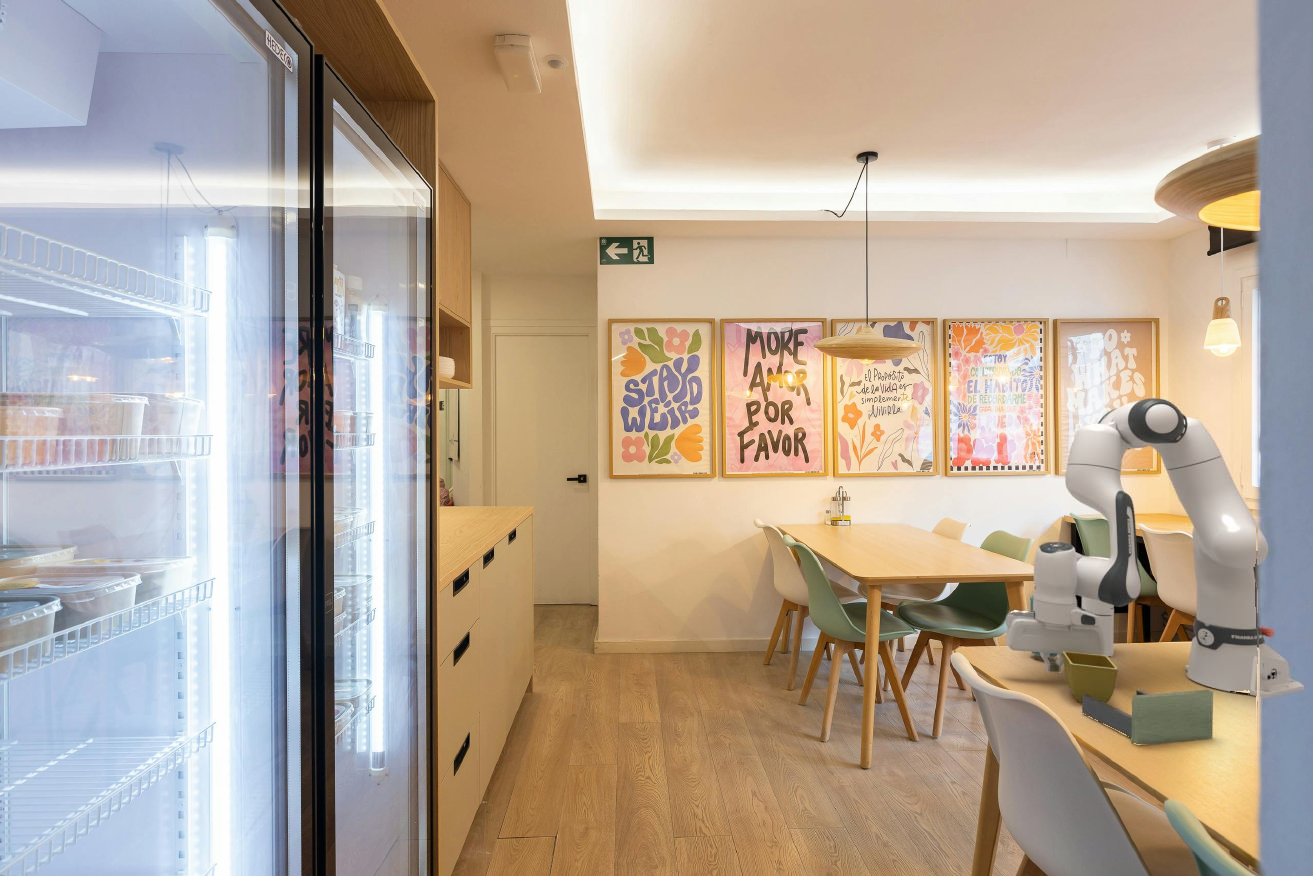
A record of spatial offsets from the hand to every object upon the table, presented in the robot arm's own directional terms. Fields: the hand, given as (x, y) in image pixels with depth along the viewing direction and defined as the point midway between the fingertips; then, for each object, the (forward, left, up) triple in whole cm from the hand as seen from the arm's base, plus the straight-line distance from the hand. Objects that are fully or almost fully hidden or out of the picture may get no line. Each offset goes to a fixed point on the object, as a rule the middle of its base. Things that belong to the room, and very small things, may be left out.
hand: (1053, 671), depth 157 cm
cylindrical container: (-28, -17, -3) cm, 33 cm away
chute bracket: (0, +23, -3) cm, 23 cm away
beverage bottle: (-10, -15, -3) cm, 18 cm away
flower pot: (0, +10, -3) cm, 11 cm away
